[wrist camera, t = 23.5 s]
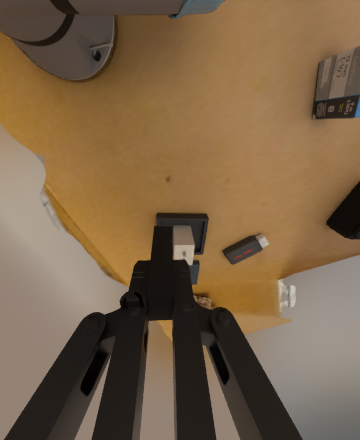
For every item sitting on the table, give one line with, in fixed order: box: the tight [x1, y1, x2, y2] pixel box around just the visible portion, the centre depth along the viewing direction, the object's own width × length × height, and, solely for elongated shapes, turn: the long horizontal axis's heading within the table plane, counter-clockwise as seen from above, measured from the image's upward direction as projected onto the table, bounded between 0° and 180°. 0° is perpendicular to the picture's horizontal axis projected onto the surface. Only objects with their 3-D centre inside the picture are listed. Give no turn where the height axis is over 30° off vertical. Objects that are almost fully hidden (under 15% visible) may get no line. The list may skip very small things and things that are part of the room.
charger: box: [173, 225, 195, 265], centre depth 39 cm, size 4×6×9 cm
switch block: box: [189, 261, 200, 285], centre depth 50 cm, size 12×9×4 cm
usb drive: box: [223, 234, 269, 265], centre depth 47 cm, size 5×12×3 cm, turn 124°
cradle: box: [156, 213, 209, 255], centre depth 43 cm, size 13×12×2 cm
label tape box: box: [313, 46, 360, 119], centre depth 25 cm, size 9×4×12 cm, turn 15°
